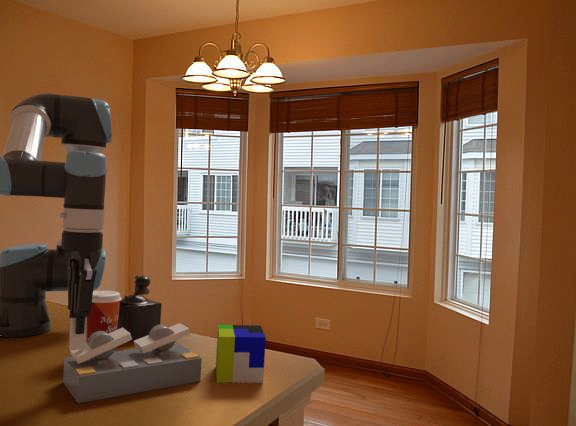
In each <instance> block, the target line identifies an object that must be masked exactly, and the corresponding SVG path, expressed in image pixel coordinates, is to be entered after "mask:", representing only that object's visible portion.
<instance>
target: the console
mask: <svg viewBox="0 0 576 426" xmlns="http://www.w3.org/2000/svg"><path fill="white" fill-rule="evenodd" d="M201 375H202V357H201V356H200V355H198V353H195V352H194V351H192V350H190V349H189V348H186V347H185V346H184V345H182V344H180V343H176V342H175V343H174V345H173V346H172V347H171V348H170V349H169V350H166V351H161V350H159V349H157V348H155V349H153V350H150V351H148V352H145V353H142V352H141V351H139V350H138V349H137V348H130V349H125V350H124V349H123V350H115V351H114V353H113V354H112V355H111V356H110V357H108V358H106V359H98V358H96V357H93V358H90V359H88V360H86V361H84V362H82V363H79V364H78V363H77V362H76V361H75V359H74V358H73V357H72V356H70V357H64V358H63V379H62V383H63V385H64V386H65V387H66V389H67V390H68V391H69V393H70V394H71V396H72V397H73V399H74V400H75V402H76V403H77V404H82V403H88V402H94V401H99V400H104V399H110V398H115V397H120V396H122V397H123V396H126V395H132V394H136V393H137V394H138V393H142V392H148V391H154V390H159V389H164V388H170V387H176V386H182V385H187V384H192V383H197V382H201V377H202V376H201Z"/></svg>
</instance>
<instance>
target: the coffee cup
mask: <svg viewBox="0 0 576 426" xmlns="http://www.w3.org/2000/svg"><path fill="white" fill-rule="evenodd" d="M121 299H123V298H122V297H121V293H120V292H118V291H116V290H115V291H113V290H93V297H92V305H91V314H90V316H87V322H86V342H87V341H88V339H89V337H90V336H91V335H92V334H93V333H95V332H97V331H104V332H106V333H108V334H109V333H111V332H113V331H116V330H117V324H118V315H119V306H120V300H121Z"/></svg>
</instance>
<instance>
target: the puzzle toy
mask: <svg viewBox="0 0 576 426" xmlns="http://www.w3.org/2000/svg"><path fill="white" fill-rule="evenodd" d="M266 339H267V338H266V334H265V332H264V330H263V328H262V326H261V325H259V324H258V325H256V324H255V325H249V324H247V325H245V324H244V325H243V324H218V325H217V338H216V353H215V354H216V358H215V373H216V374H215V376H216V383H218V384H219V383H221V382H222V383H224V384H225V382H227V384H228V382H233V384H235V382H237V383H240V382H241V383H240V384H242V383H243V384H245V383H246V382H247V383H246V384H249V383H254V382H255V383H256V384H257V383H261V384H264V372H265V358H266V356H265V355H266V353H265V352H266ZM237 383H236V384H237ZM255 383H254V384H255Z"/></svg>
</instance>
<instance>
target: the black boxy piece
mask: <svg viewBox="0 0 576 426" xmlns="http://www.w3.org/2000/svg"><path fill="white" fill-rule="evenodd" d="M134 279H135V280H134V282H133V284H135V286H134V293H133V294H129V295H124V297H123V298H122V299H121V300H120V306H119V315H118V324H117V330H118V329H120V328H122V327H123V328H124V329H125V330H127V331H128V332H129V333H130V334H131V337H132V340H130V341H128V342H134V341H135V340H137V339H140V338H142V337H145V336H148V335H149V333H150V331H151V329H152V328H153V327H155V326H157V325H161V319H162V317H161V316H162V302H158V301H155V300H151V299H149V298H147V297H146V296H144V295H148V294H150V288H148V287H149V286H151V280H150V277H149V276H146V275H135V278H134Z"/></svg>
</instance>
